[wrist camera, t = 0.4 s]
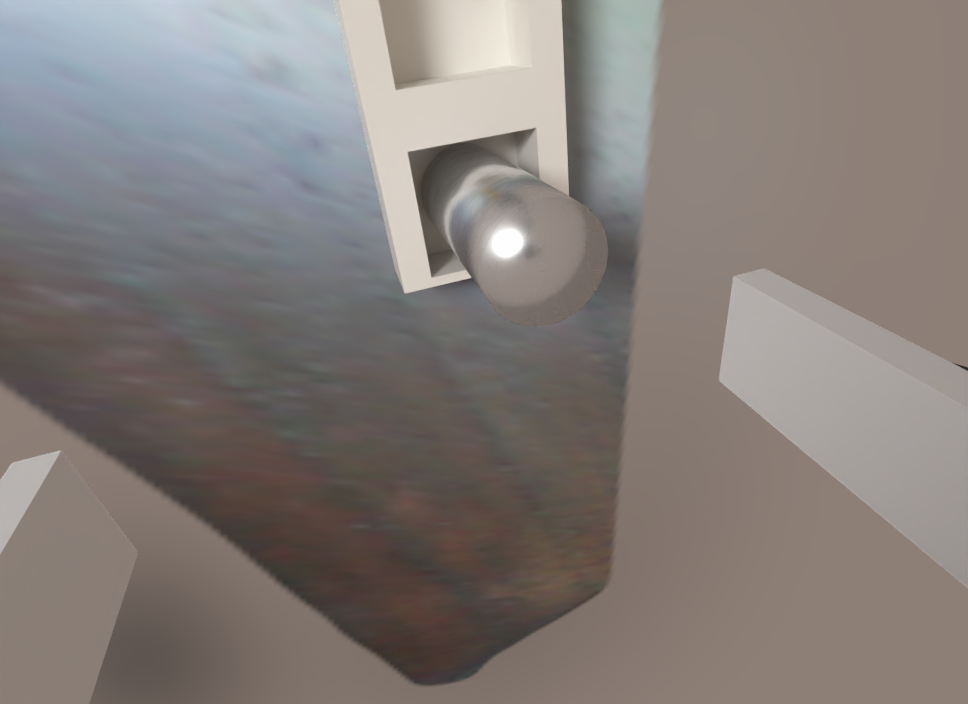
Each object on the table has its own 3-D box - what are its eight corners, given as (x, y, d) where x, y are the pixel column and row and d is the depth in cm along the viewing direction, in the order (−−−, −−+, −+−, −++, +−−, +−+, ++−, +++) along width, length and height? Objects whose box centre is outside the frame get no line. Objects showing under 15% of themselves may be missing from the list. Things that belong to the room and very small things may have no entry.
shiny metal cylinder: (413, 152, 32) (472, 213, 21) (503, 135, 33) (608, 184, 22) (429, 242, 35) (489, 339, 24) (511, 225, 36) (608, 309, 25)
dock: (312, -89, 26) (313, -112, 22) (522, -111, 28) (556, -135, 24) (394, 267, 36) (404, 293, 32) (545, 233, 38) (571, 254, 34)
